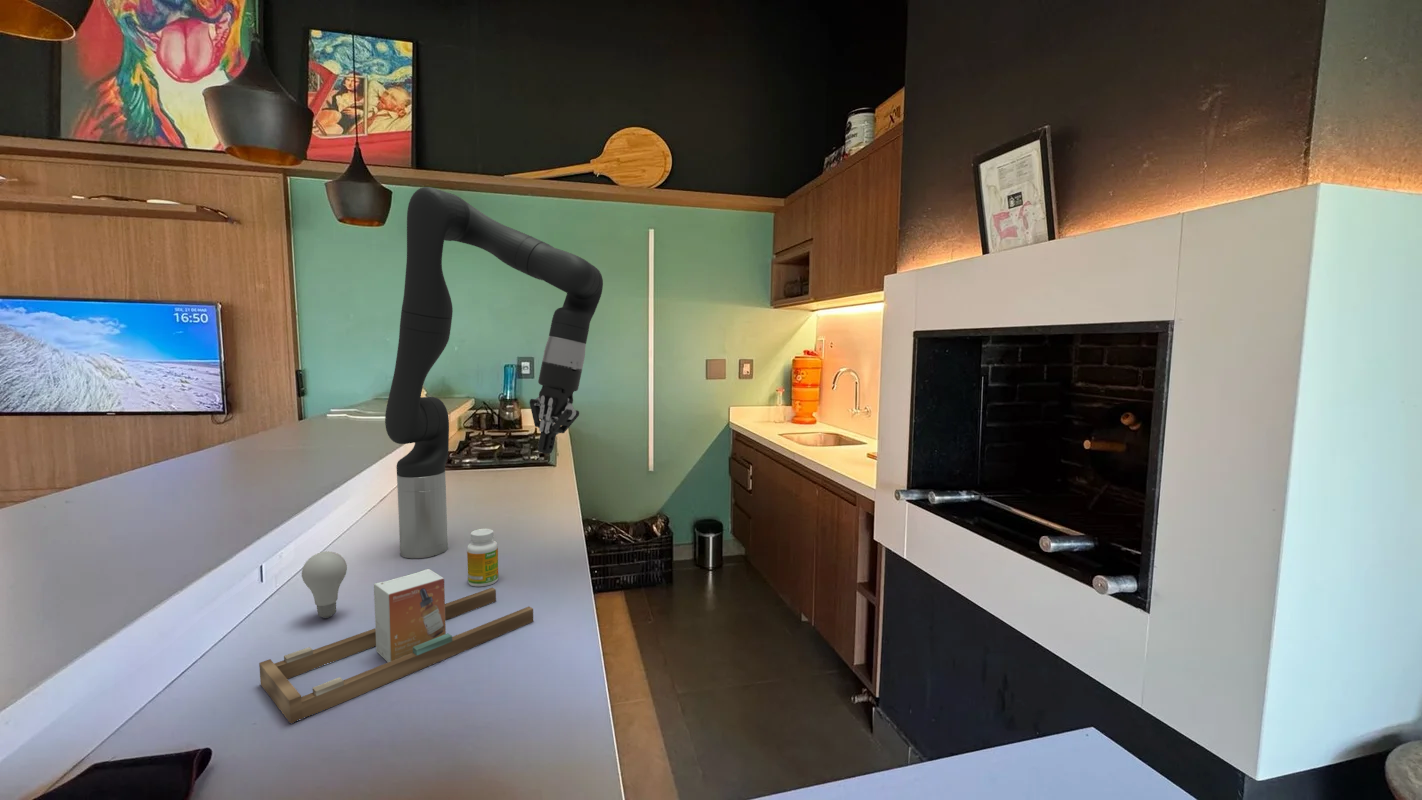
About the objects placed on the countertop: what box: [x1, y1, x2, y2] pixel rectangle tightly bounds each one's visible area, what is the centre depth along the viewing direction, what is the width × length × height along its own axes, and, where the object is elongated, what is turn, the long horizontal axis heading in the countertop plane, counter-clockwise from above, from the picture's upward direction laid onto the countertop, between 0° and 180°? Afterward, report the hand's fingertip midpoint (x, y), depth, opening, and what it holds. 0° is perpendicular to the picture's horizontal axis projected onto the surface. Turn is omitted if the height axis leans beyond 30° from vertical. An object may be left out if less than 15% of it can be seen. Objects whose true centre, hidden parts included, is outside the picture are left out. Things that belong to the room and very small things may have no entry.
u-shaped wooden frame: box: [258, 587, 534, 724], centre depth 85 cm, size 12×33×3 cm, turn 141°
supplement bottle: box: [466, 528, 499, 588], centre depth 109 cm, size 5×5×10 cm
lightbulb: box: [301, 550, 348, 619], centre depth 94 cm, size 6×6×11 cm
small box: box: [373, 568, 447, 663], centre depth 85 cm, size 8×6×10 cm
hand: (544, 452), depth 110 cm, fingers closed
